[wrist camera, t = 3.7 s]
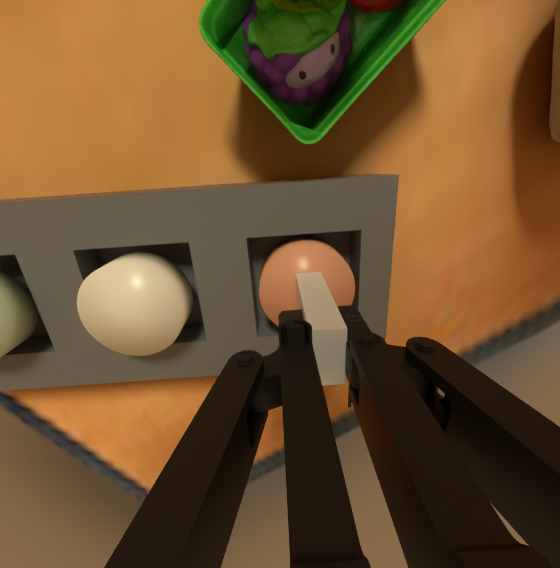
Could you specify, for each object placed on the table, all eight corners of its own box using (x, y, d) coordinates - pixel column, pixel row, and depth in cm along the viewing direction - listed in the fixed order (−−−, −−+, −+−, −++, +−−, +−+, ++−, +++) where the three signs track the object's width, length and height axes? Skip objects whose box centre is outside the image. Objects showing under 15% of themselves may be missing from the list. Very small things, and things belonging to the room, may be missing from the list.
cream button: (88, 255, 18) (61, 268, 16) (184, 248, 18) (171, 260, 16) (115, 337, 20) (95, 359, 18) (200, 331, 20) (191, 352, 18)
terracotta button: (256, 239, 19) (254, 248, 17) (346, 233, 19) (356, 241, 17) (264, 318, 21) (263, 337, 19) (344, 313, 21) (353, 330, 19)
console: (-86, 205, 20) (-167, 214, 16) (375, 173, 20) (398, 174, 16) (-5, 361, 25) (-53, 394, 21) (366, 334, 25) (383, 363, 21)
